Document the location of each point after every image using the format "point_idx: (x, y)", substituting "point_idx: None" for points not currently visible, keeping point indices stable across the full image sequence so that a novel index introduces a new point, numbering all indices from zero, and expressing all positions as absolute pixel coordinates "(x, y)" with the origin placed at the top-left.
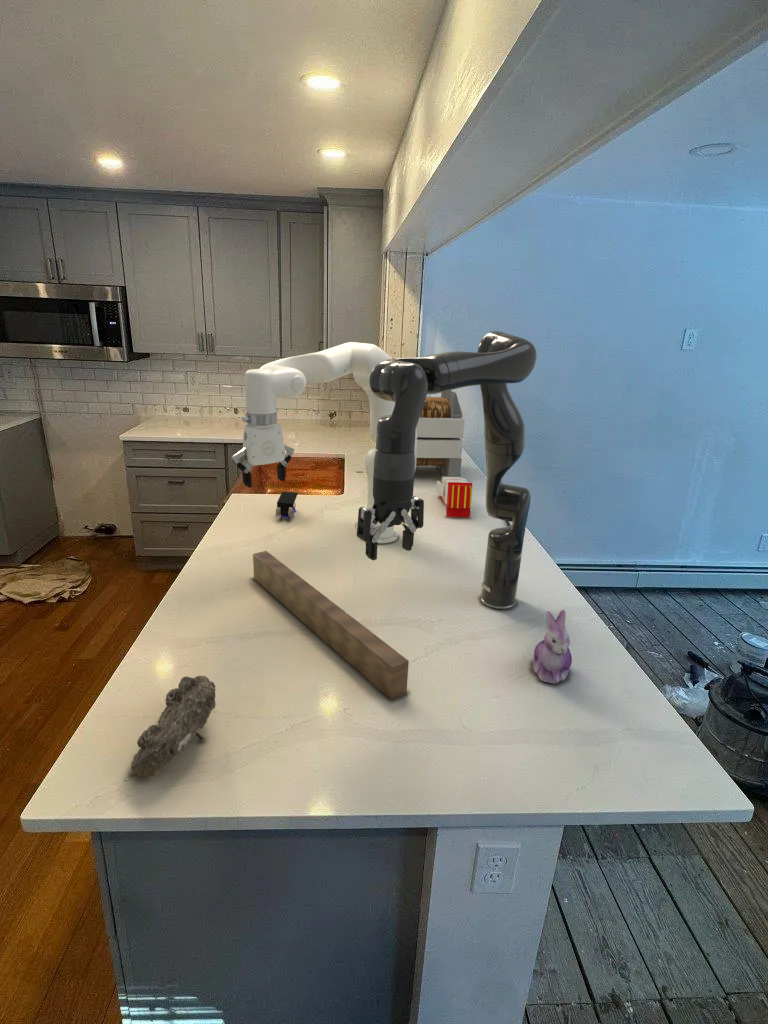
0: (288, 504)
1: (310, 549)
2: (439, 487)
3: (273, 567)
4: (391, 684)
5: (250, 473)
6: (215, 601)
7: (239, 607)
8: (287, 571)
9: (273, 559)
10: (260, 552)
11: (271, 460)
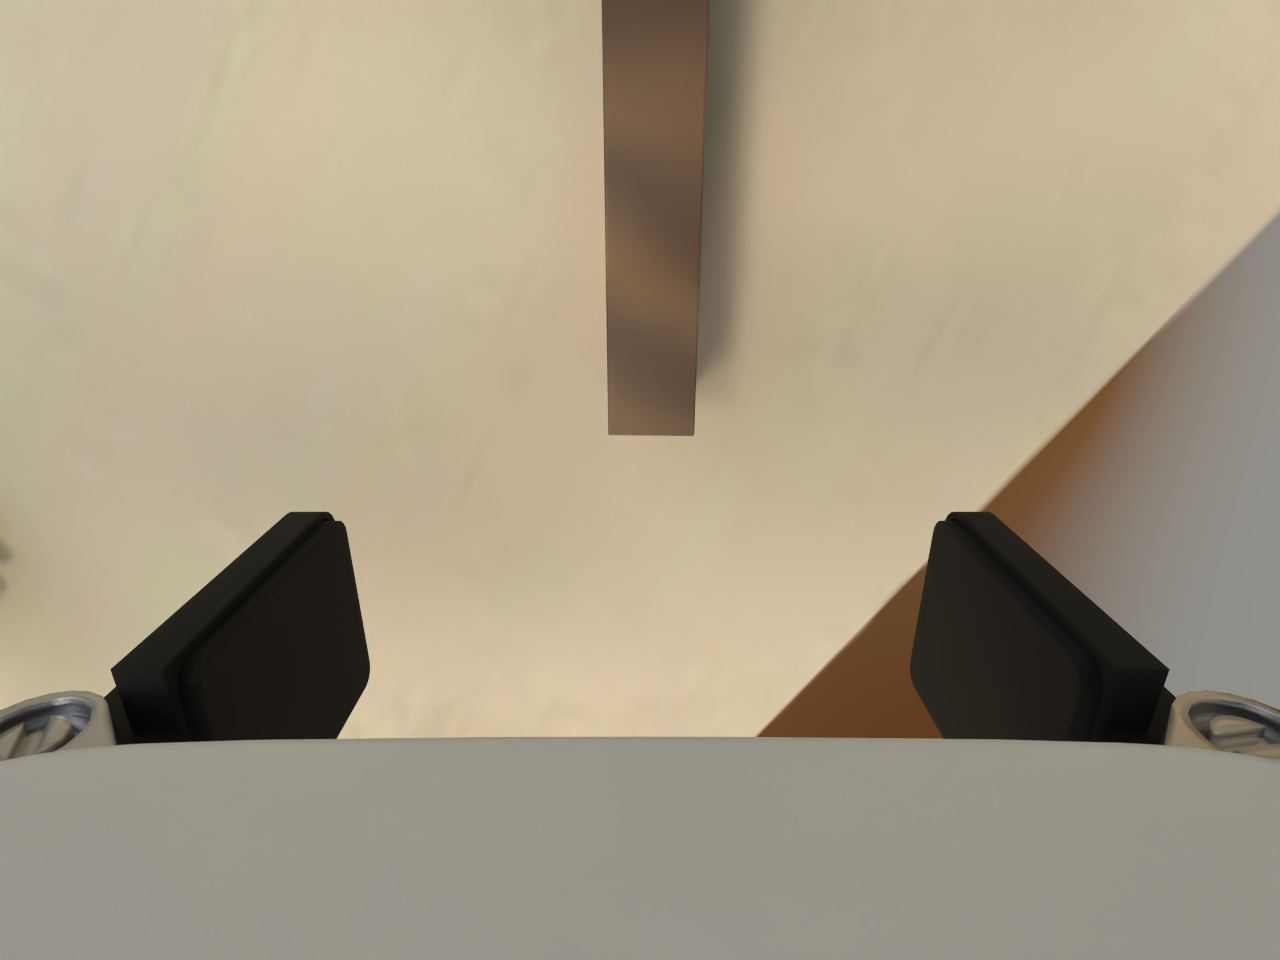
0: None
1: None
2: None
3: (682, 183)
4: None
5: (1105, 660)
6: (950, 272)
7: (893, 142)
8: (634, 69)
9: (628, 295)
10: (649, 428)
11: (497, 803)
